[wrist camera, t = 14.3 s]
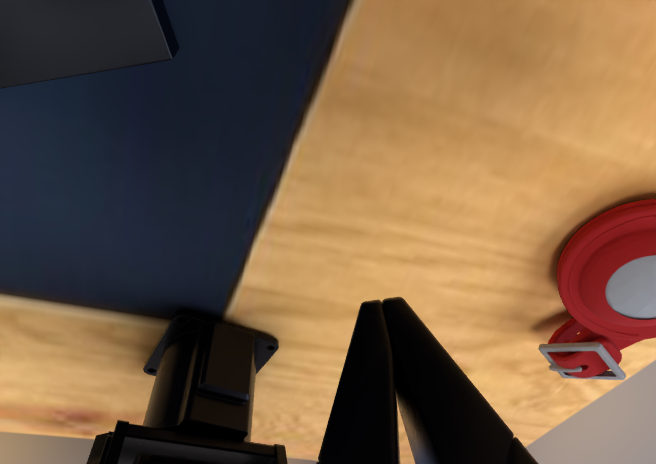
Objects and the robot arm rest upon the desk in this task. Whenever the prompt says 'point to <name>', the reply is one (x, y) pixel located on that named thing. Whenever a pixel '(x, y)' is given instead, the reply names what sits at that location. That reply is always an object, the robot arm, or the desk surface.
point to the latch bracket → (80, 37)
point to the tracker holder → (606, 292)
